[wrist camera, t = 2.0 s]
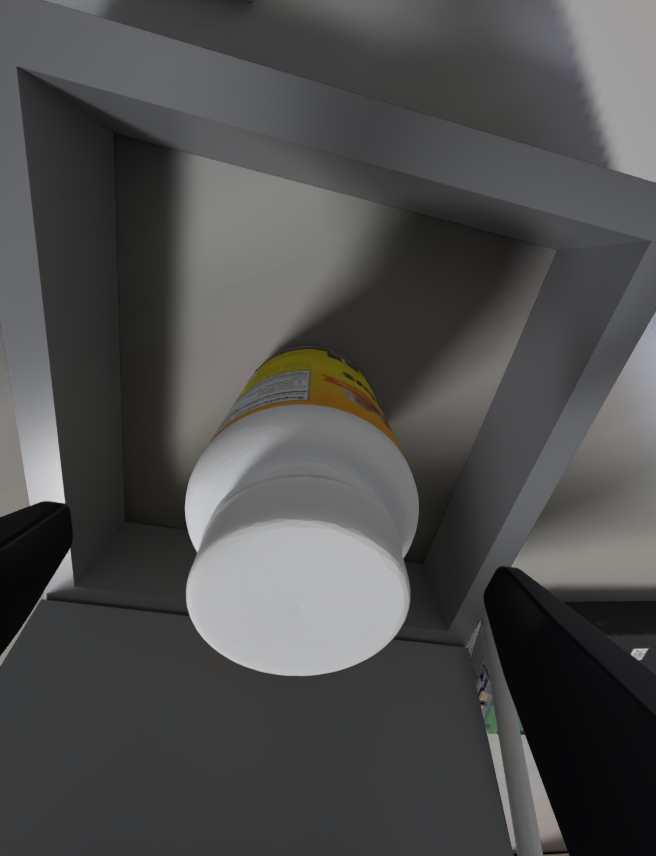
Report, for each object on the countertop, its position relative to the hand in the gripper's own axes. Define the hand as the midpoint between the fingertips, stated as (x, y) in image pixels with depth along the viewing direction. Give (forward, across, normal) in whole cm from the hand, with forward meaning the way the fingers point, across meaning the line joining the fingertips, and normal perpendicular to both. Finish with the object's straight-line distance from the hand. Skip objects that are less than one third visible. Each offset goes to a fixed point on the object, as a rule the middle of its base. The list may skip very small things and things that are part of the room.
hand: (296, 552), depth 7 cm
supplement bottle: (+9, 0, 0) cm, 9 cm away
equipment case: (+9, -1, +3) cm, 9 cm away
